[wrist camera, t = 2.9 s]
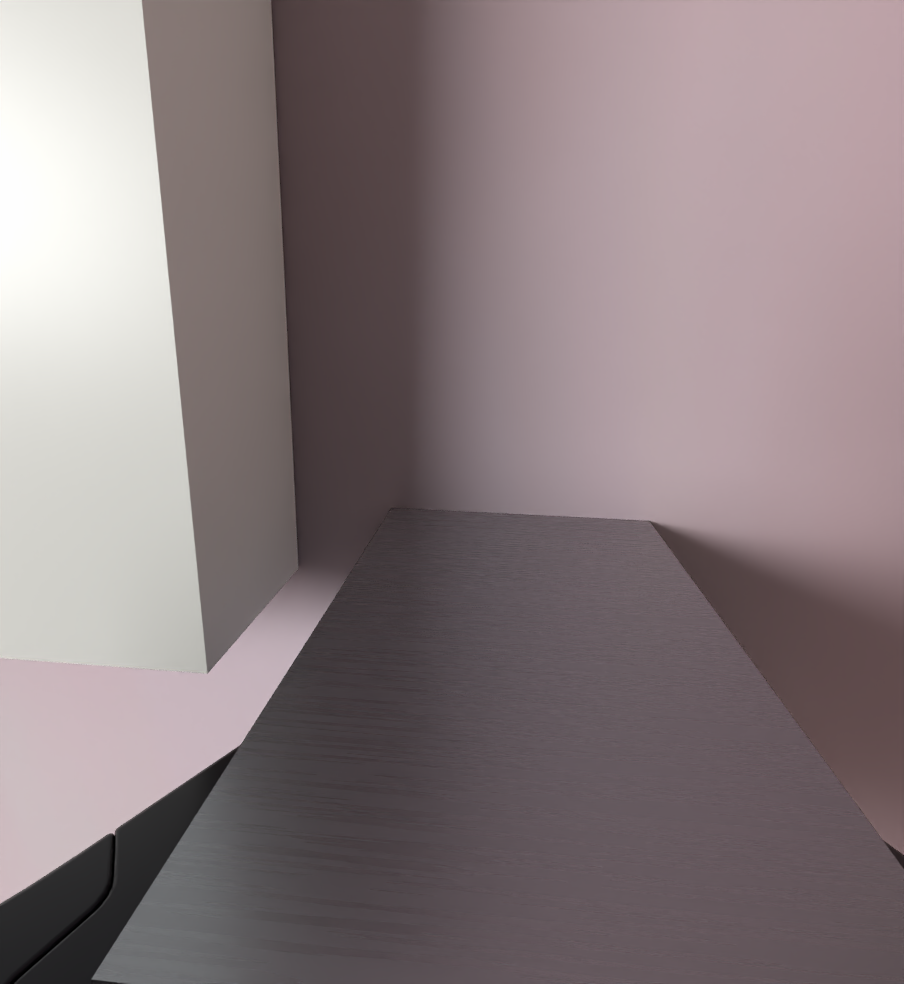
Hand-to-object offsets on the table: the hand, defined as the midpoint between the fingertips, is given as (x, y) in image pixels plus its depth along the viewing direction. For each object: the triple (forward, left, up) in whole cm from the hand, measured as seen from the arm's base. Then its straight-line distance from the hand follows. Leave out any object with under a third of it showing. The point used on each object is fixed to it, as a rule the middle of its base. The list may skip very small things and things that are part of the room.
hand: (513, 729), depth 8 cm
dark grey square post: (0, 0, -3) cm, 3 cm away
